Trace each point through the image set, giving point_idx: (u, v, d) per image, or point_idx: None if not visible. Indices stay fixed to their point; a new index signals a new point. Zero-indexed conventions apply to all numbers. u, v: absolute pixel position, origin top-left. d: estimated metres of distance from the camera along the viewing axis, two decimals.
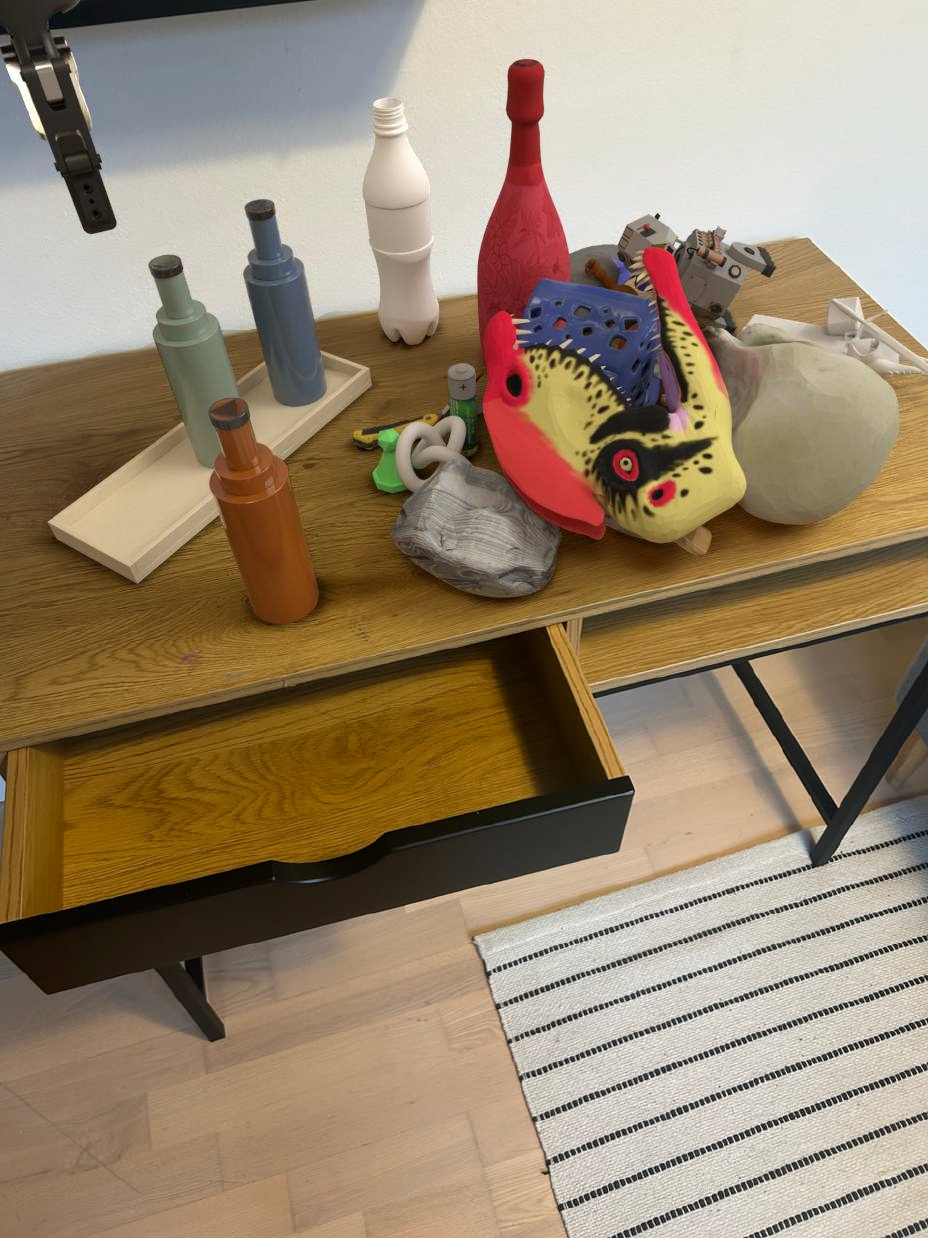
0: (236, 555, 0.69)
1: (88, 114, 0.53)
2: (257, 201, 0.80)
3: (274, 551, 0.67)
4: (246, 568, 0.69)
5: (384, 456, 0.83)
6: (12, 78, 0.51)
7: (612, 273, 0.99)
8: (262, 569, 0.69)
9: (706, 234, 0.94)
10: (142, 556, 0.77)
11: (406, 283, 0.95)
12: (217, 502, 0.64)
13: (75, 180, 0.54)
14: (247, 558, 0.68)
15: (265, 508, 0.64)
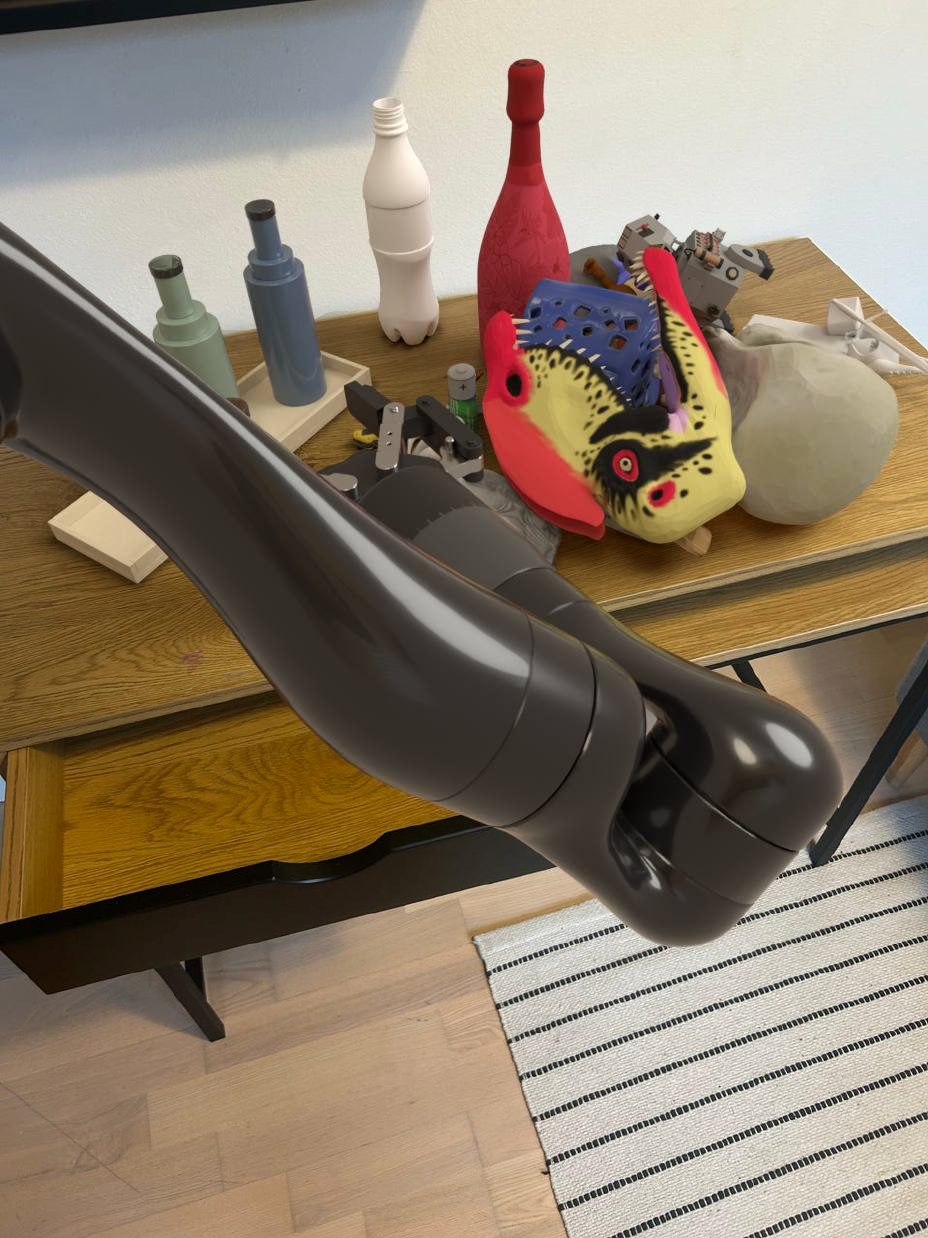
0: None
1: None
2: (257, 201, 0.80)
3: None
4: None
5: None
6: None
7: (612, 273, 0.99)
8: None
9: (705, 235, 0.94)
10: (142, 556, 0.77)
11: (406, 283, 0.95)
12: None
13: None
14: None
15: None
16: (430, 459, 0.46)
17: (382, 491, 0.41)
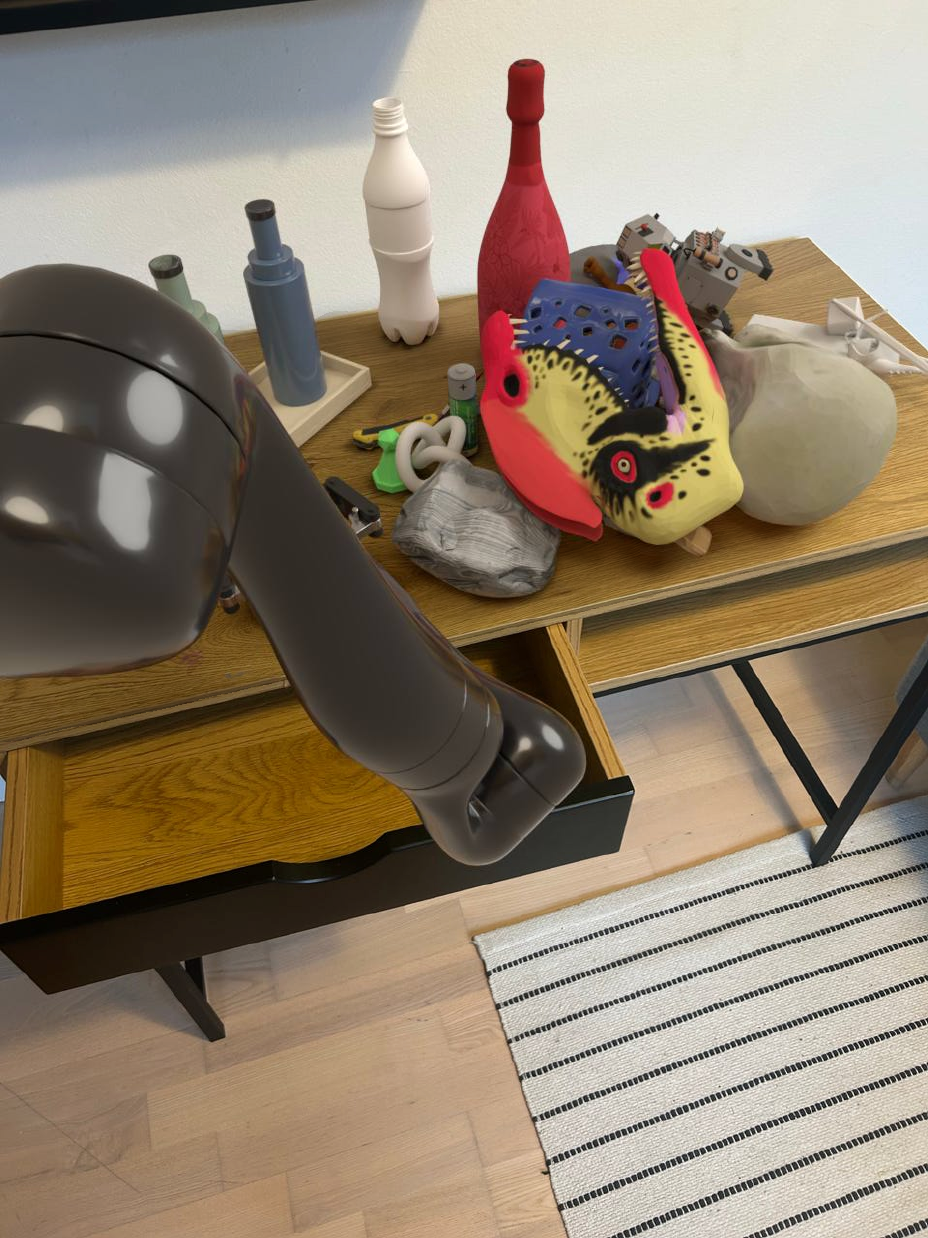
0: None
1: None
2: (257, 201, 0.80)
3: None
4: None
5: (384, 456, 0.83)
6: None
7: (611, 272, 0.99)
8: None
9: (704, 235, 0.94)
10: None
11: (406, 283, 0.95)
12: None
13: None
14: None
15: None
16: None
17: None
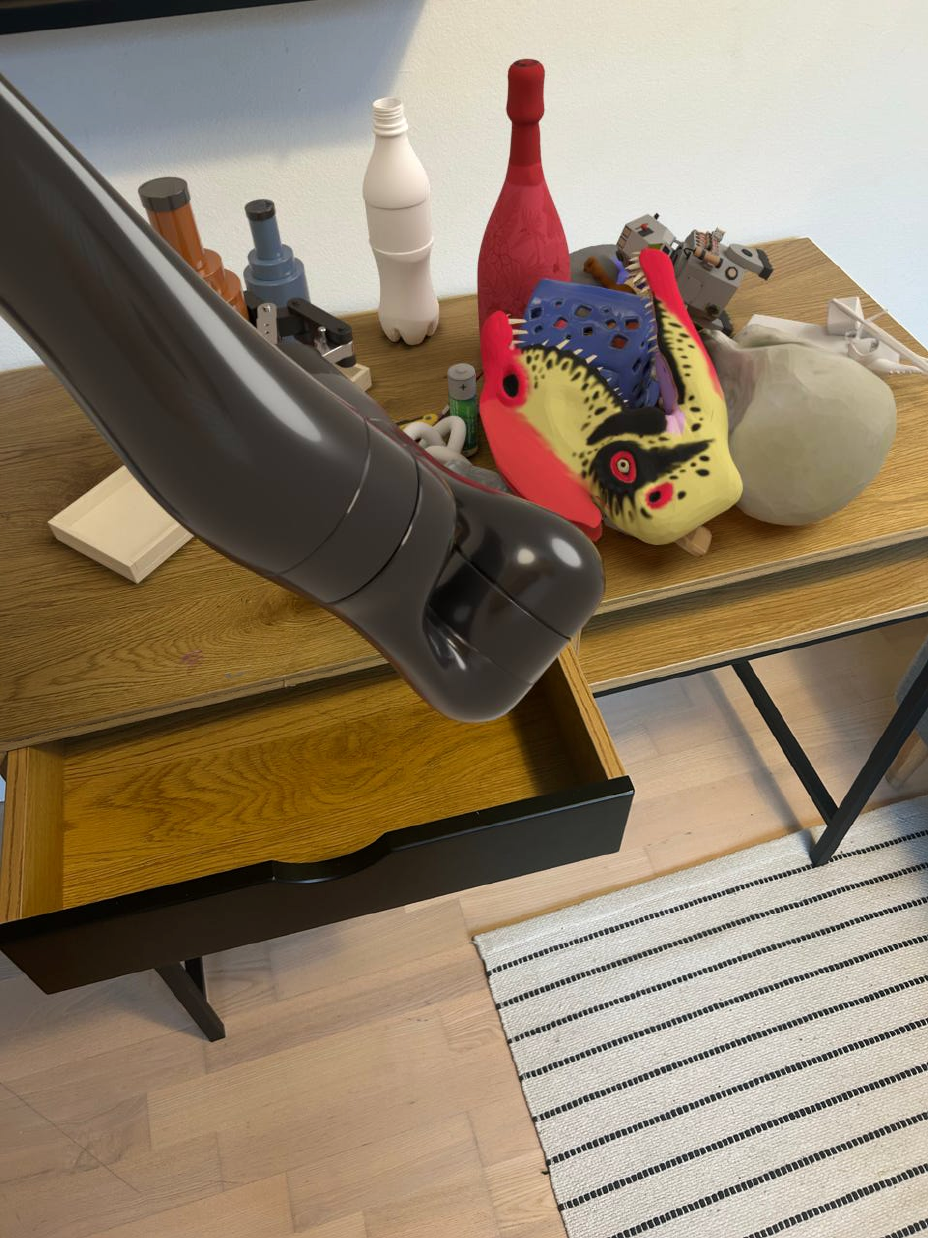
0: None
1: None
2: (257, 201, 0.80)
3: None
4: None
5: None
6: None
7: (611, 272, 0.99)
8: None
9: (704, 235, 0.94)
10: (142, 556, 0.77)
11: (406, 283, 0.95)
12: None
13: None
14: None
15: None
16: (309, 346, 0.52)
17: None
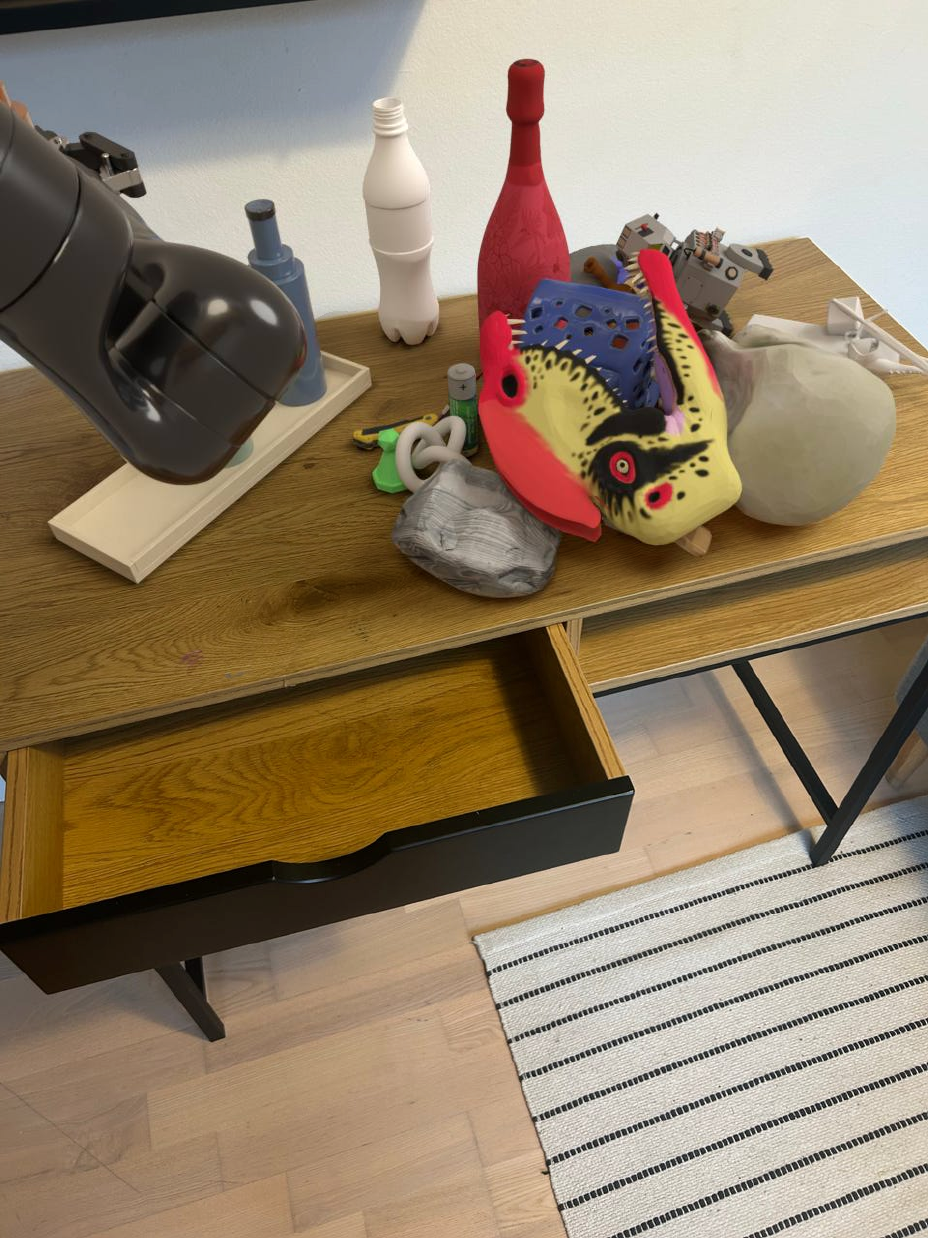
0: None
1: None
2: (257, 201, 0.80)
3: None
4: None
5: (384, 456, 0.83)
6: None
7: (611, 272, 0.99)
8: None
9: (704, 235, 0.94)
10: (142, 556, 0.77)
11: (406, 283, 0.95)
12: None
13: None
14: None
15: None
16: None
17: None
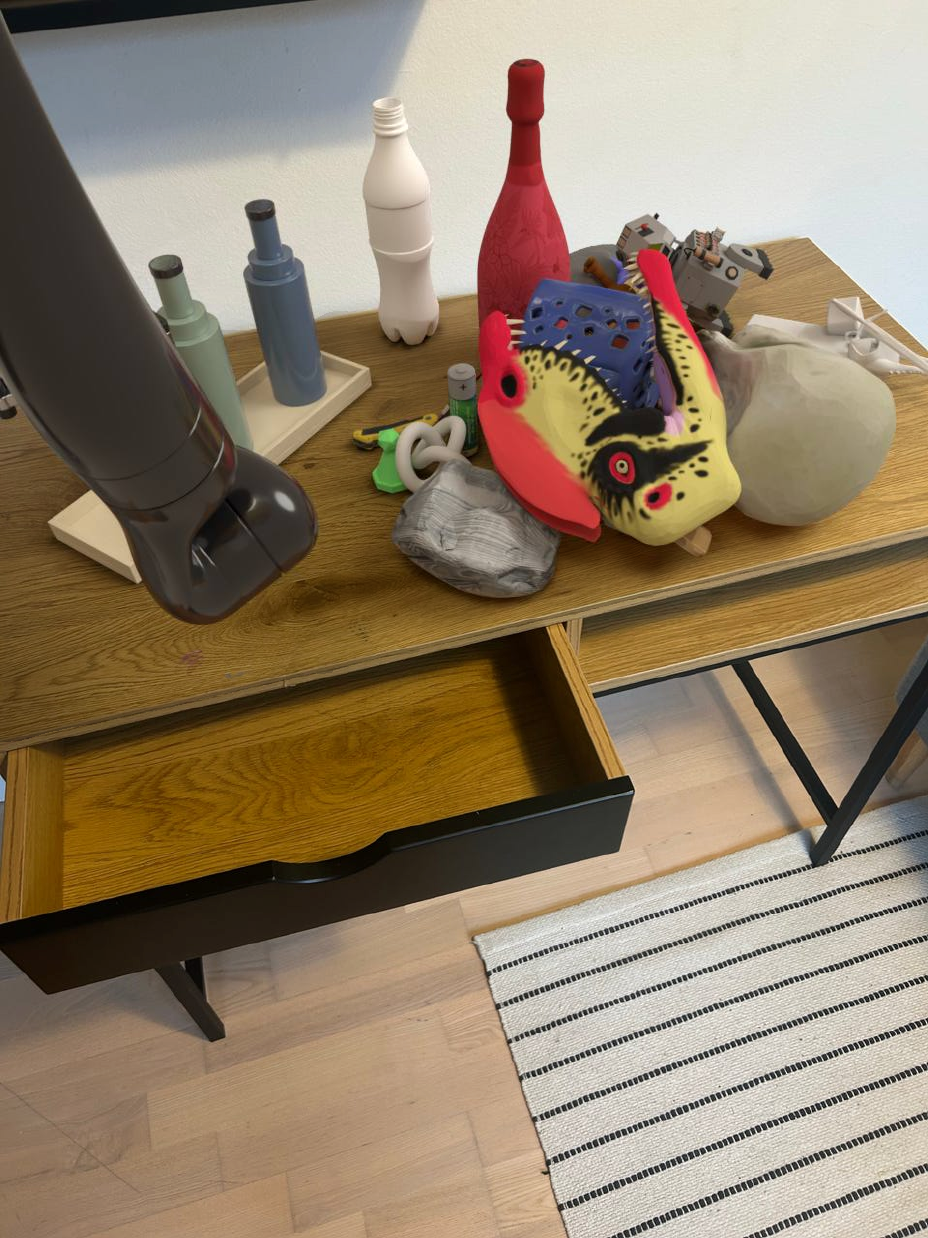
0: None
1: None
2: (257, 201, 0.80)
3: None
4: None
5: (384, 456, 0.83)
6: None
7: (611, 272, 0.99)
8: None
9: (704, 235, 0.94)
10: None
11: (406, 283, 0.95)
12: None
13: None
14: None
15: None
16: None
17: None
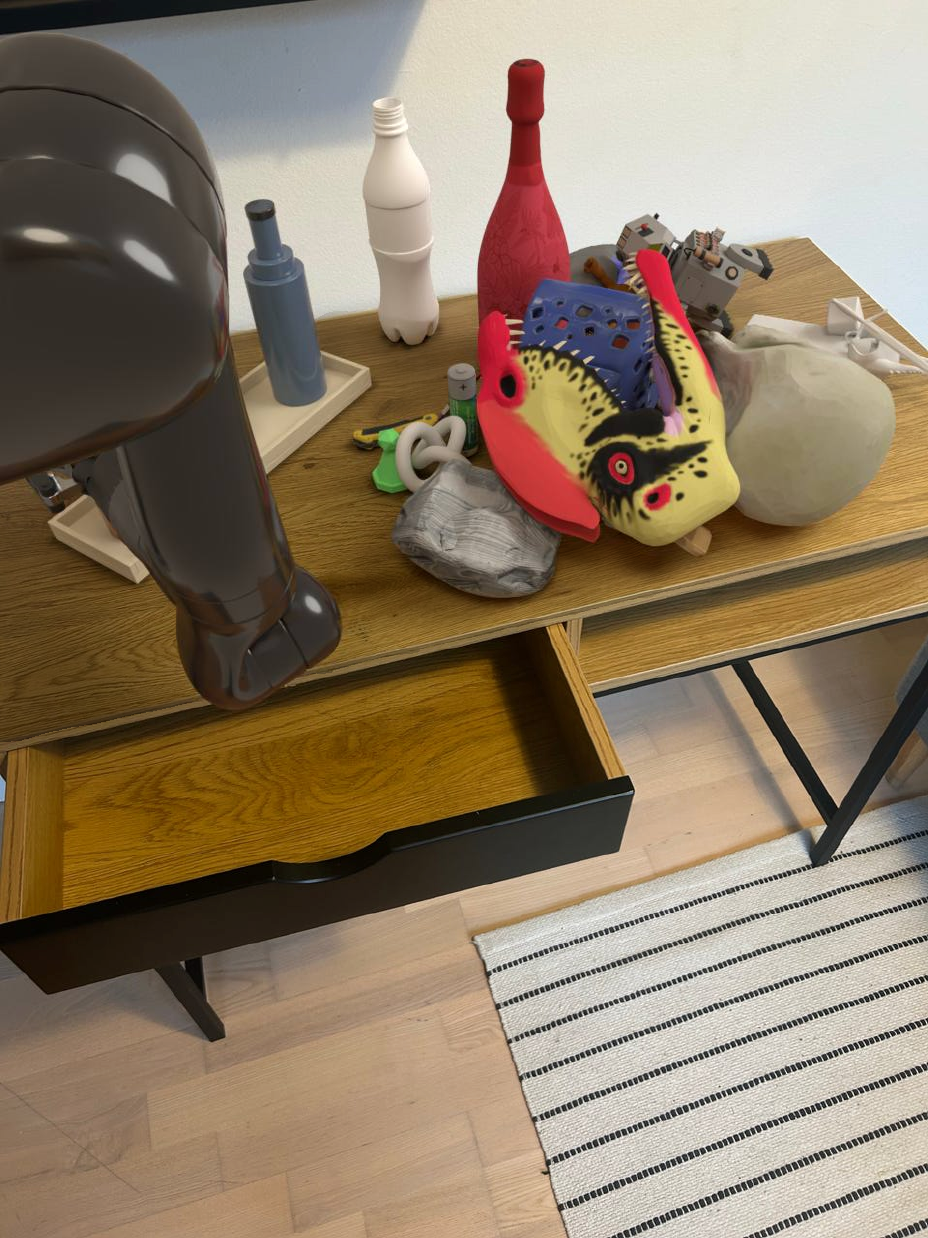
0: None
1: None
2: (257, 201, 0.80)
3: None
4: None
5: (384, 456, 0.83)
6: None
7: (611, 272, 0.99)
8: None
9: (704, 235, 0.94)
10: None
11: (406, 283, 0.95)
12: None
13: None
14: None
15: None
16: None
17: (111, 450, 0.64)
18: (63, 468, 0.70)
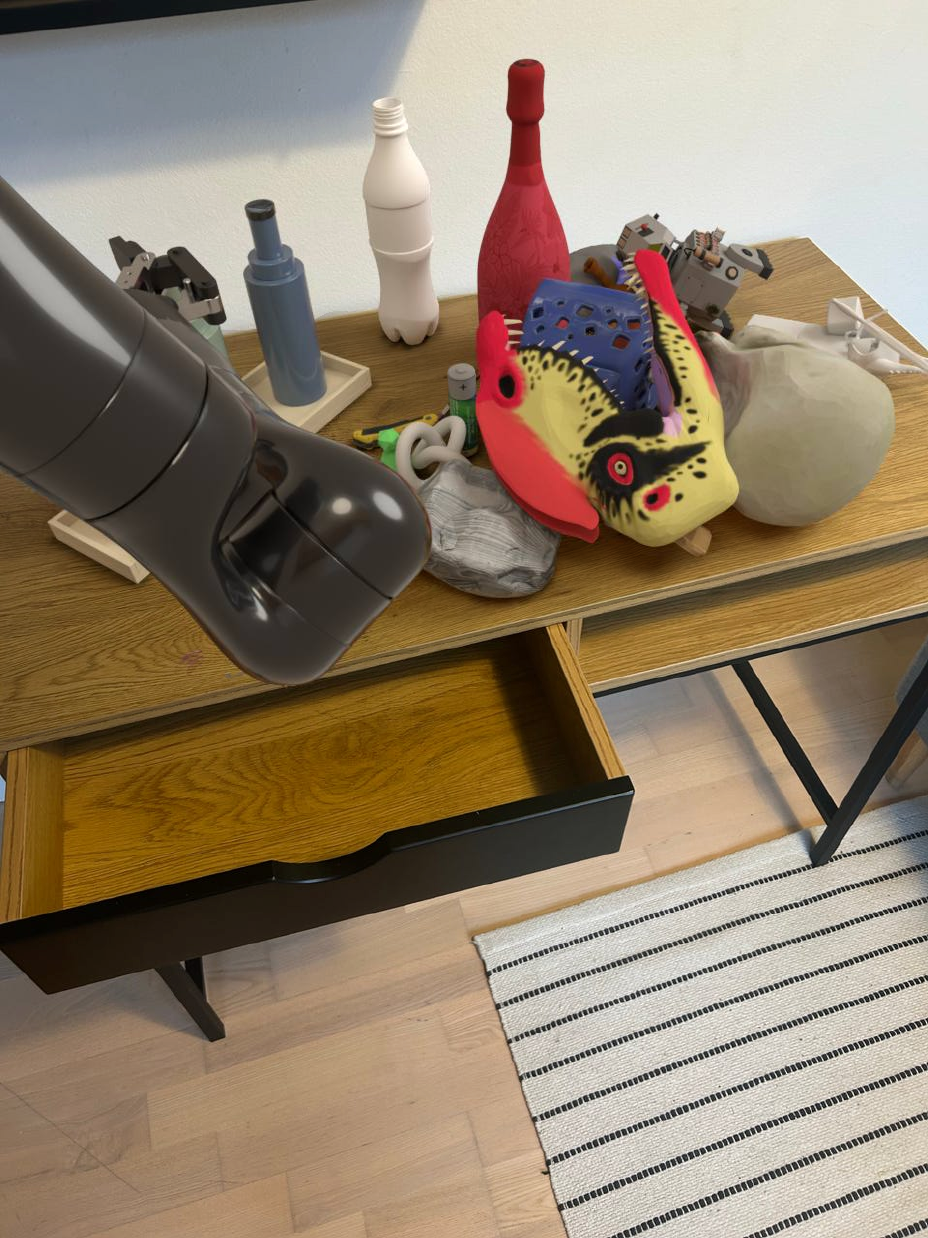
0: None
1: None
2: (257, 201, 0.80)
3: None
4: None
5: (384, 456, 0.83)
6: None
7: (612, 272, 0.99)
8: None
9: (704, 235, 0.94)
10: None
11: (406, 283, 0.95)
12: None
13: None
14: None
15: None
16: (163, 296, 0.49)
17: None
18: None
